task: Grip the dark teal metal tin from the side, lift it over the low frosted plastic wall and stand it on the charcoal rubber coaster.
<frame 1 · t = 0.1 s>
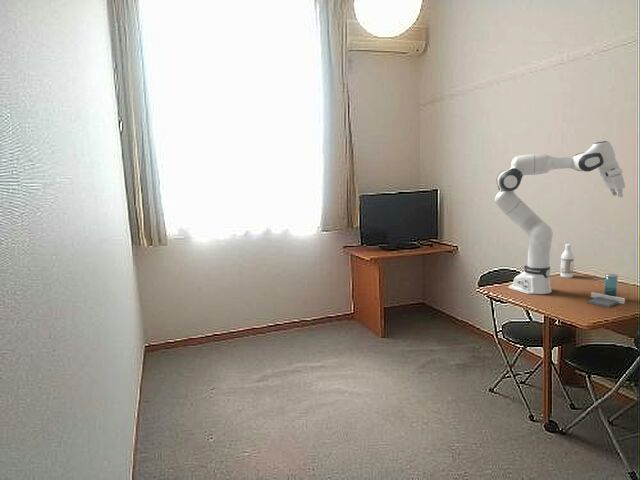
hand: (617, 196, 254), 52 cm above the table, tool tilted 20°, fingers open, 8 cm apart
bath foam: (566, 276, 299), on the table
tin: (610, 297, 254), on the table
coaster: (603, 303, 246), on the table
wall: (607, 300, 250), on the table
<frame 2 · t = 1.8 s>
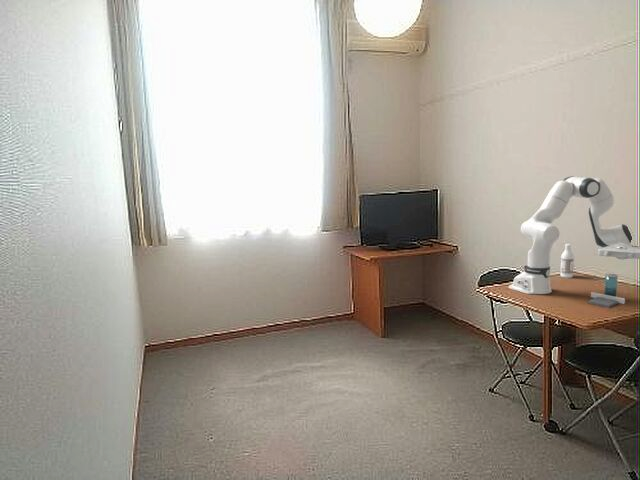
hand: (617, 255, 260), 20 cm above the table, tool horizontal, fingers open, 8 cm apart
nothing on the table moved.
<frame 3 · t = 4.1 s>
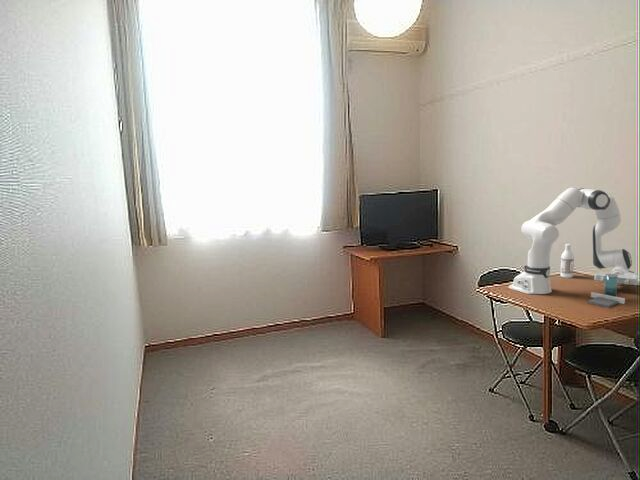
hand: (613, 281, 258), 7 cm above the table, tool horizontal, fingers open, 8 cm apart
nothing on the table moved.
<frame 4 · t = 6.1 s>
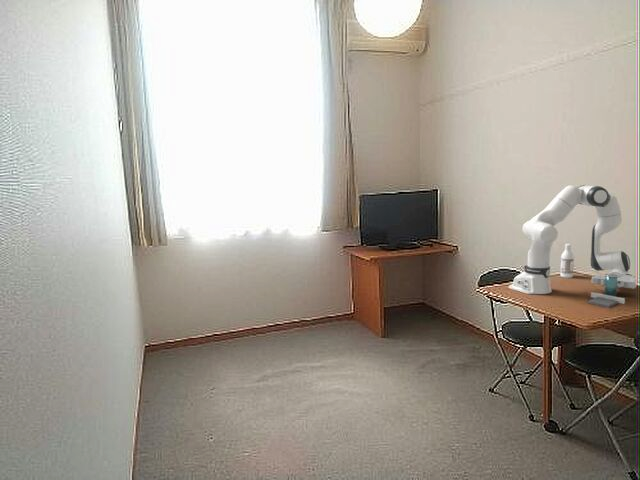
hand: (610, 284, 252), 7 cm above the table, tool horizontal, fingers closed on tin, 5 cm apart
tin: (610, 297, 254), on the table, touching gripper
everything else where it was.
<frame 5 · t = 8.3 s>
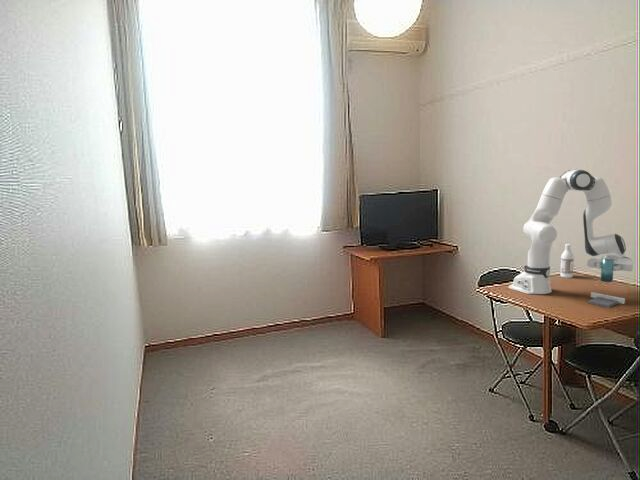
hand: (607, 267, 245), 18 cm above the table, tool horizontal, fingers closed on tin, 5 cm apart
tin: (606, 280, 247), point 11 cm above the table, touching gripper
everything else where it was.
when the fingers open (9 cm above the table, at t = 10.8 s): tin drops 1 cm, resting on coaster.
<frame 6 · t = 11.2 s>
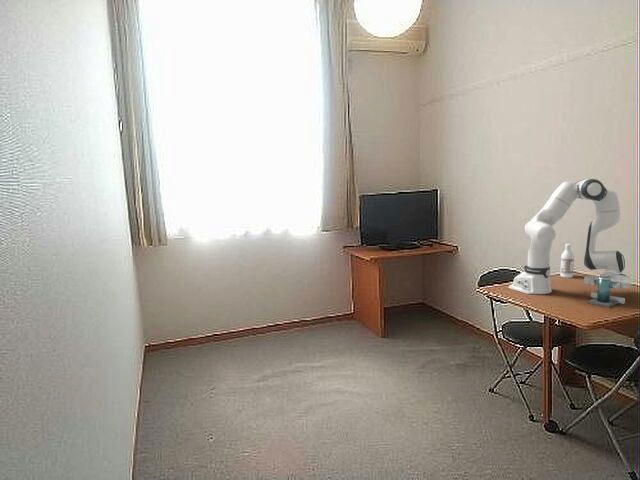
hand: (603, 285, 243), 9 cm above the table, tool horizontal, fingers open, 8 cm apart
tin: (603, 300, 245), point 1 cm above the table, touching coaster
everything else where it was.
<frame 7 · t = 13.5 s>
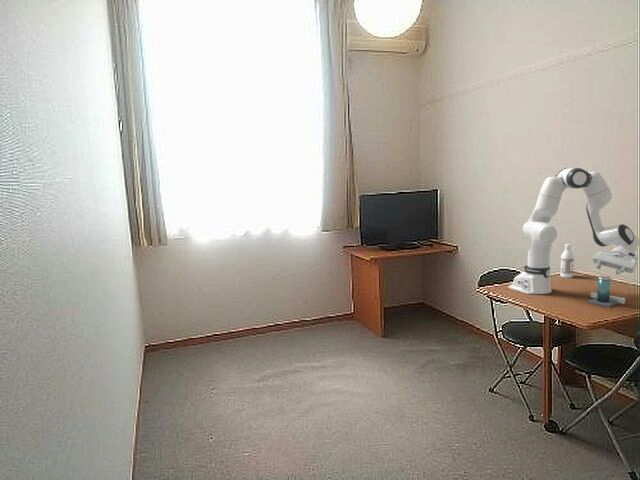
hand: (607, 270, 253), 14 cm above the table, tool tilted 65°, fingers open, 8 cm apart
nothing on the table moved.
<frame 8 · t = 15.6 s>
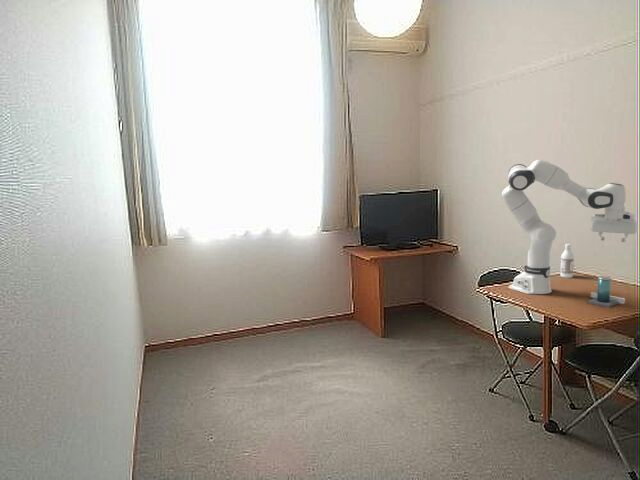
hand: (612, 241, 253), 29 cm above the table, tool pointing down, fingers open, 8 cm apart
nothing on the table moved.
at the end: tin inside the target area on the coaster (0.0 cm from its centre), point 1.2 cm above the coaster's base; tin tilted 0°; the gripper is holding nothing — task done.
